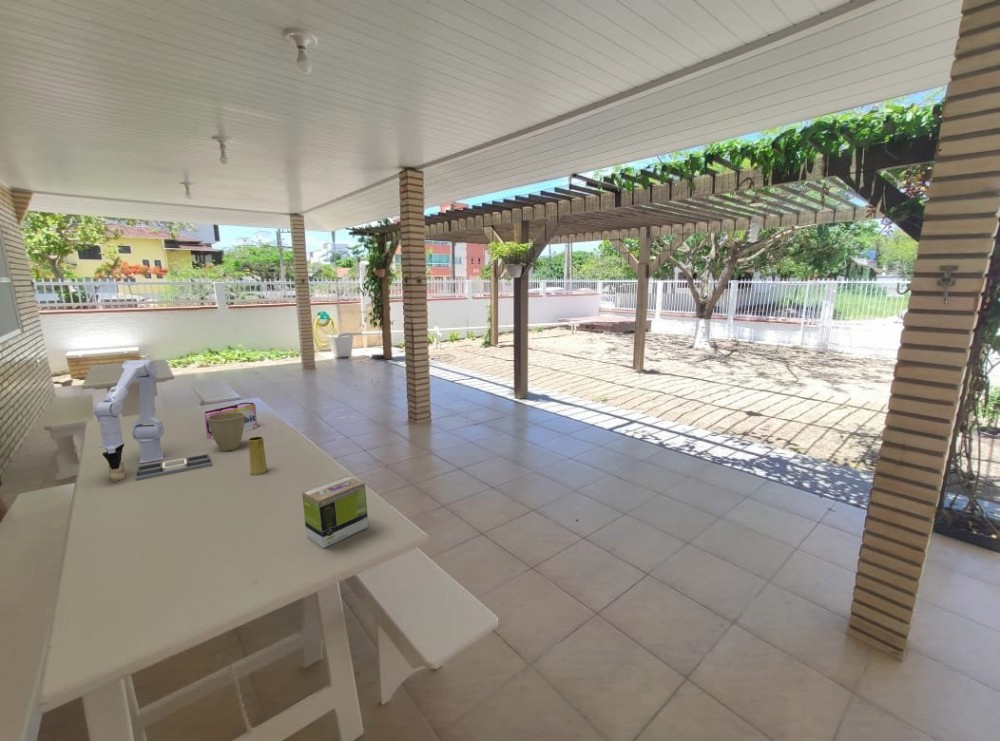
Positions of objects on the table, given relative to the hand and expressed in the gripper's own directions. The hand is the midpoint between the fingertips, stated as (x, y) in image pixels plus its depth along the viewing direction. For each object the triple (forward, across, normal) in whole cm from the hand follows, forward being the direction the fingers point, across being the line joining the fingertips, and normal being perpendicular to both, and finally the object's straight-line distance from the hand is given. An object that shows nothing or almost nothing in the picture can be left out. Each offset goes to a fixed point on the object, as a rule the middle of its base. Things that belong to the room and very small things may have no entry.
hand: (116, 466), depth 170 cm
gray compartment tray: (+5, +1, +18) cm, 19 cm away
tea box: (+6, +93, +56) cm, 109 cm away
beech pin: (+5, 0, 0) cm, 5 cm away
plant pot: (+5, -14, +39) cm, 42 cm away
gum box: (+5, -43, +43) cm, 61 cm away
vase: (+6, +26, +45) cm, 52 cm away
